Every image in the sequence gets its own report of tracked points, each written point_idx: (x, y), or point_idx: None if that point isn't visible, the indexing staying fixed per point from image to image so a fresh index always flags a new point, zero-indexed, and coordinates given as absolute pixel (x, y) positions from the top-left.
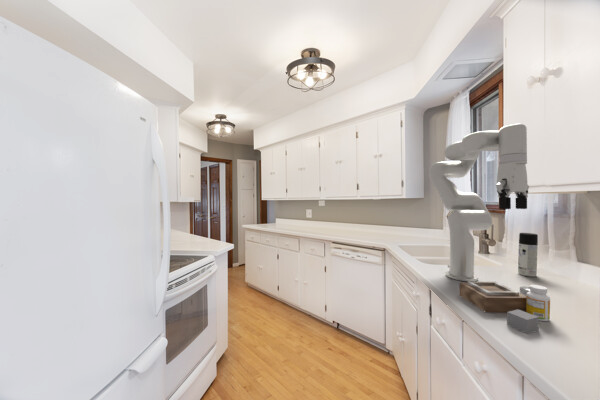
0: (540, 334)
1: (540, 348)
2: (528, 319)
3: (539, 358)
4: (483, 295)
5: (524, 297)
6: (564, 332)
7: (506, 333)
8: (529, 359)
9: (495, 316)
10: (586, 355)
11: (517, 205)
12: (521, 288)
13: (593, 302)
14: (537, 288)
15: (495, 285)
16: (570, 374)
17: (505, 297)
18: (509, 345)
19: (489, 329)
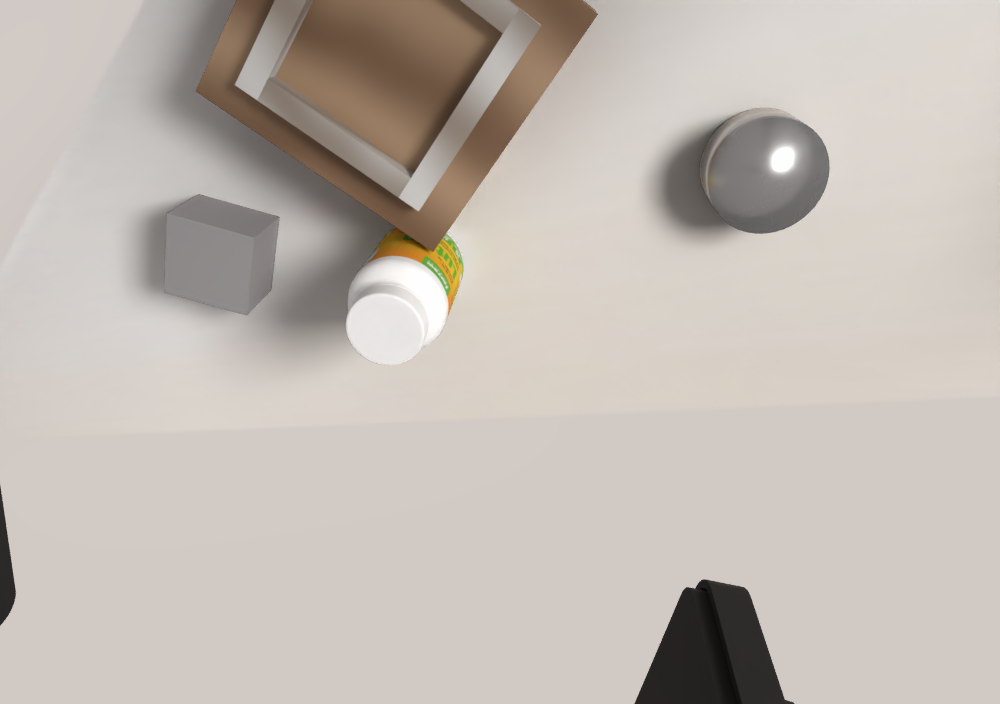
0: None
1: (119, 322)
2: (173, 294)
3: (48, 332)
4: (215, 65)
5: (411, 234)
6: (348, 354)
7: (111, 217)
8: (8, 315)
9: (239, 128)
10: (218, 415)
11: (694, 677)
12: (743, 133)
13: (917, 396)
14: (348, 333)
15: (497, 42)
16: (49, 397)
17: (308, 165)
18: (28, 252)
19: (72, 160)
